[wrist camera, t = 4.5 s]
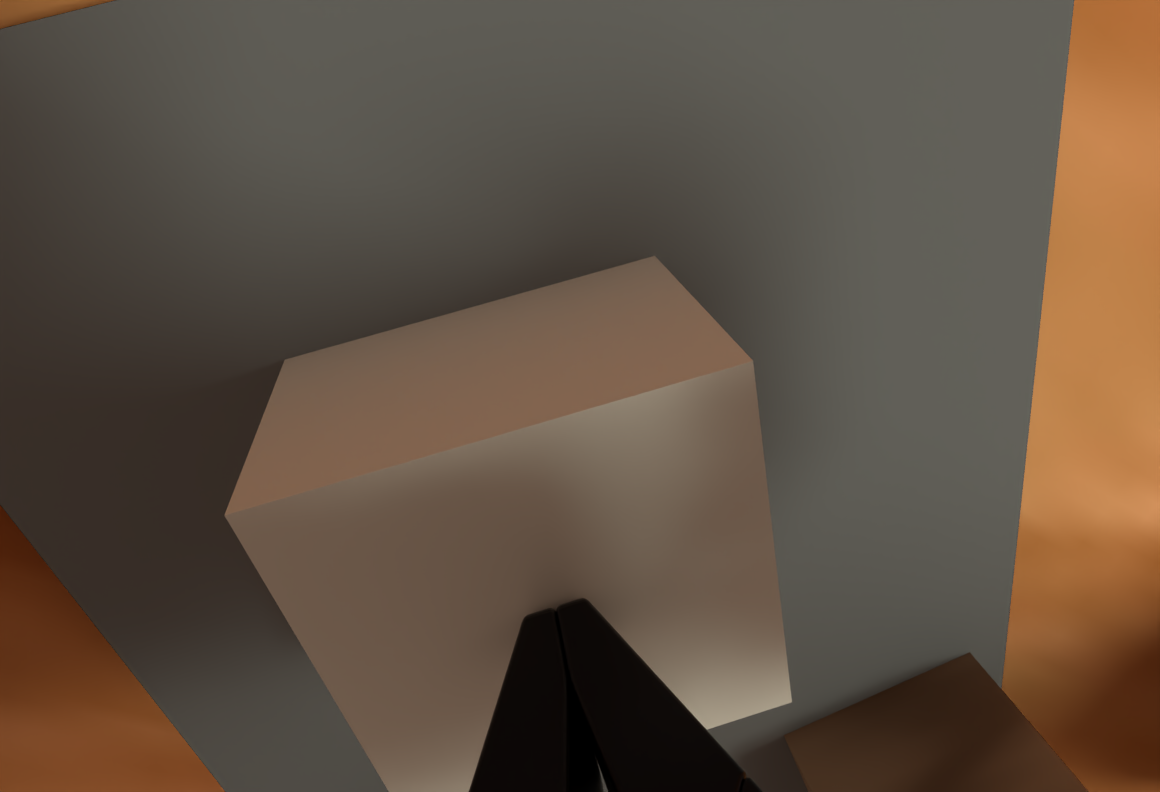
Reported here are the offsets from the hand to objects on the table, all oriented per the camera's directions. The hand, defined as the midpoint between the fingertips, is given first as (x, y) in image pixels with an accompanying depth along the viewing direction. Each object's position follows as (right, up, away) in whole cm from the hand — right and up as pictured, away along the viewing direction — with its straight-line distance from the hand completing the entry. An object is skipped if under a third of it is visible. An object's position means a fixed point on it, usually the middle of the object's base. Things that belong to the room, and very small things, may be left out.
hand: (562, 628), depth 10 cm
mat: (+1, -2, +6) cm, 7 cm away
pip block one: (+8, -6, +10) cm, 14 cm away
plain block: (-1, +2, +3) cm, 4 cm away
